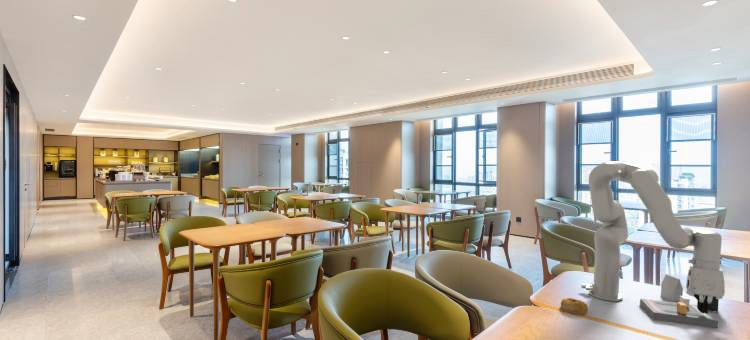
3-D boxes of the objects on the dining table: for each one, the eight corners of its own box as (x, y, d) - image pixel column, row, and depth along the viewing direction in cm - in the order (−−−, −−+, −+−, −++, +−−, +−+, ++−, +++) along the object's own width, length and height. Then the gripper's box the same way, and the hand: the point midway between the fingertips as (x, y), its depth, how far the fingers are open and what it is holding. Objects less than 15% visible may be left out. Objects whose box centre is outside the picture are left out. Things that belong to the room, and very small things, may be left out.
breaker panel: (653, 319, 141) (654, 303, 140) (639, 305, 154) (640, 290, 154) (718, 328, 134) (719, 311, 134) (698, 312, 148) (699, 296, 147)
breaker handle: (680, 313, 139) (680, 305, 139) (676, 310, 142) (677, 301, 142) (686, 314, 138) (687, 305, 138) (682, 311, 141) (683, 302, 141)
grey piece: (674, 302, 158) (675, 279, 158) (660, 296, 165) (662, 274, 164) (682, 302, 159) (683, 279, 158) (668, 295, 165) (669, 274, 165)
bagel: (593, 310, 148) (593, 299, 148) (581, 318, 142) (581, 306, 141) (567, 302, 156) (568, 291, 156) (555, 309, 149) (555, 298, 149)
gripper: (686, 264, 136) (683, 313, 137) (737, 269, 131) (733, 319, 132) (677, 259, 143) (674, 305, 144) (725, 263, 138) (721, 311, 139)
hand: (702, 311), depth 138 cm, fingers closed
